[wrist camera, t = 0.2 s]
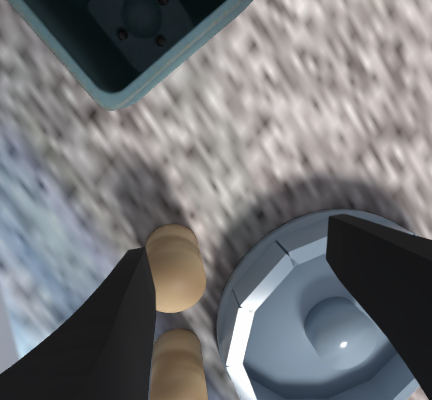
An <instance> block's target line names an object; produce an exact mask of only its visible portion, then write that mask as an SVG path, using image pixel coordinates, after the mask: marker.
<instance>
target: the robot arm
mask: <svg viewBox="0 0 432 400" xmlns="http://www.w3.org/2000/svg"><path fill="white" fill-rule="evenodd" d="M326 260H327V262H328V264H329V265H330V267H331V269H332V270H333V272H334V273H335V275H336V276H337V278H338V279H339V281H340V282H341V283H342V284H343V286H344V287H345V288H346V289H347V290H348V292H349V293H350V294H351V295H352V296H353V298H354V299H355V300H356V301H357V302H358V303H359V305H360V306H361V307H362V308H363V309H364V310H365V312H366V313H367V314H368V315H369V316H370V317H371V319H372V320H373V321H374V322H375V323H376V324H377V326H378V327H379V328H380V329H381V331H382V332H383V333H384V334H385V336H386V337H387V338H388V340H389V341H390V342H391V344H392V345H393V347H394V348H395V350H396V351H397V352H398V354H399V355H400V357H401V358H402V360H403V361H404V362H405V364H406V365H407V367H408V368H409V370H410V371H411V373H412V374H413V376H414V377H415V379H416V381H417V382H418V384H419V385H420V387H421V388H422V390H423V391H424V393H425V394H426V396H427V397H428V399H429V400H432V240H430V239H426V238H423V237H419V236H415V235H412V234H409V233H406V232H402V231H399V230H396V229H393V228H390V227H387V226H384V225H381V224H377V223H374V222H371V221H368V220H365V219H362V218H358V217H355V216H351V215H347V214H338V215H333V216H329V219H328V233H327V247H326ZM155 322H156V290H155V286H154V281H153V277H152V273H151V269H150V264H149V260H148V256H147V251H146V247H143V248H138V249H132V250H128V252H127V253H126V254H125V255H124V256H123V258H122V259H121V260H120V262H119V263H118V264H117V265H116V267H115V268H114V269H113V270H112V272H111V273H110V274H109V275H108V277H107V278H106V279H105V280H104V281H103V283H102V284H101V285H100V286H99V287H98V288H97V289H96V291H95V292H94V293H93V294H92V295H91V296H90V297H89V298H88V299H87V300H86V302H85V303H84V304H83V305H82V306H81V307H80V308H79V309H78V310H77V311H76V312H75V313H74V314H73V315H72V316H71V317H70V318H69V319H68V320H66V321H65V322H64V323H63V324H62V325H61V326H60V327H59V328H58V329H57V330H56V331H54V332H53V333H52V334H51V335H50V336H49V337H47V338H46V339H45V340H44V341H42V342H41V343H40V344H39V345H37V346H36V347H35V348H34V349H33V350H31V351H30V352H29V353H28V354H26V355H25V356H24V357H23V358H21V359H20V360H19V361H18V362H16V363H15V364H14V365H12V366H11V367H10V368H8V369H7V370H5V371H4V372H3V373H1V374H0V400H148V390H149V376H150V367H151V358H152V349H153V340H154V331H155Z"/></svg>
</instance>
